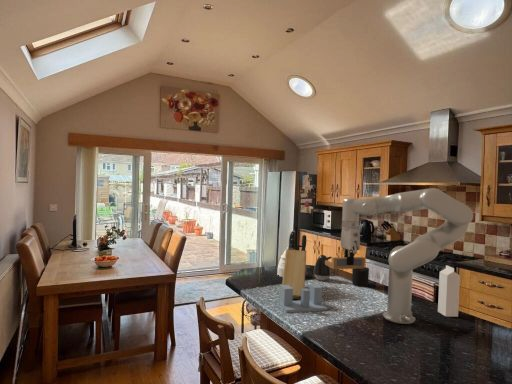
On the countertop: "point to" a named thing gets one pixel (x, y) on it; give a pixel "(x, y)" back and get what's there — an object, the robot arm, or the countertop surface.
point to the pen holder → (360, 277)
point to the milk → (448, 292)
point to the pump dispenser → (322, 268)
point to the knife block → (295, 266)
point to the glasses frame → (345, 263)
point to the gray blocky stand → (302, 299)
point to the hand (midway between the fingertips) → (348, 264)
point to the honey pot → (281, 264)
